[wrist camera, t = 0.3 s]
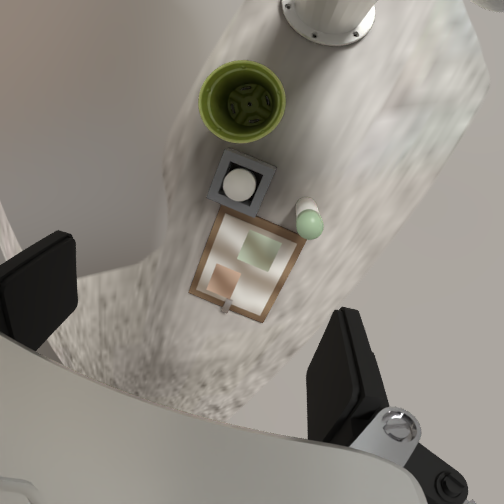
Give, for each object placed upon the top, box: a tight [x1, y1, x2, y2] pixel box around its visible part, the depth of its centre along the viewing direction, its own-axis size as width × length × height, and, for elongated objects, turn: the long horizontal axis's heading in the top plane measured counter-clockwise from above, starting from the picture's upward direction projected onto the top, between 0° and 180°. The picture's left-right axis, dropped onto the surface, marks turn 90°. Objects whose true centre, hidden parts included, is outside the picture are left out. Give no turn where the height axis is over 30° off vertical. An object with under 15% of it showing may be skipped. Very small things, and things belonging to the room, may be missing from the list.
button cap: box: [223, 168, 256, 201], centre depth 40 cm, size 4×4×2 cm
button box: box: [206, 148, 277, 218], centre depth 42 cm, size 7×7×3 cm
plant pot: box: [198, 60, 286, 143], centre depth 35 cm, size 9×9×9 cm
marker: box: [296, 197, 323, 240], centre depth 40 cm, size 3×3×8 cm
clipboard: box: [189, 204, 307, 323], centre depth 48 cm, size 16×13×1 cm
